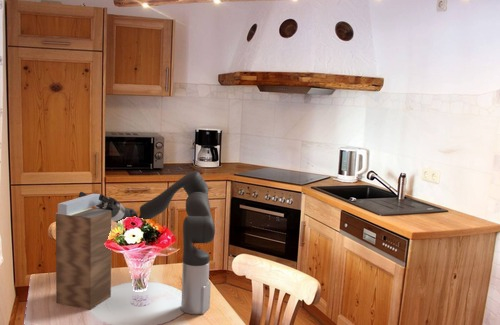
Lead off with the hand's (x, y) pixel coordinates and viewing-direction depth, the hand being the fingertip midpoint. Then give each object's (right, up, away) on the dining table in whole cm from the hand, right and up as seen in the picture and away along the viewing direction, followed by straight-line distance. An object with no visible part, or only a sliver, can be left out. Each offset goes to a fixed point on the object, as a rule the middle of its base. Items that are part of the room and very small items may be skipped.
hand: (90, 195), depth 177 cm
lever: (-2, -4, -5) cm, 6 cm away
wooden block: (-1, -37, -5) cm, 37 cm away
